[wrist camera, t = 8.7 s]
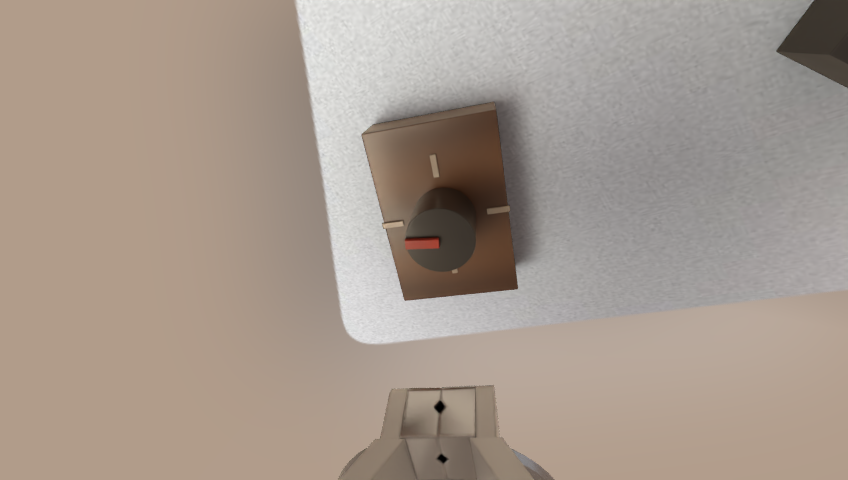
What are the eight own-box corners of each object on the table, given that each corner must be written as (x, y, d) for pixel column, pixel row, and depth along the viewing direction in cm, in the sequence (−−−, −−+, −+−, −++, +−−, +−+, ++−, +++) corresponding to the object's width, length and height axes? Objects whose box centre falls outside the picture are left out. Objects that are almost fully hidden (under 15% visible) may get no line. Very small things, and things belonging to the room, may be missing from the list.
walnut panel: (515, 267, 31) (519, 290, 28) (409, 279, 32) (402, 302, 30) (495, 101, 26) (497, 109, 23) (371, 124, 27) (358, 135, 25)
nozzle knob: (474, 185, 25) (474, 208, 22) (477, 244, 27) (477, 273, 24) (410, 189, 26) (399, 212, 23) (417, 246, 28) (408, 275, 24)
